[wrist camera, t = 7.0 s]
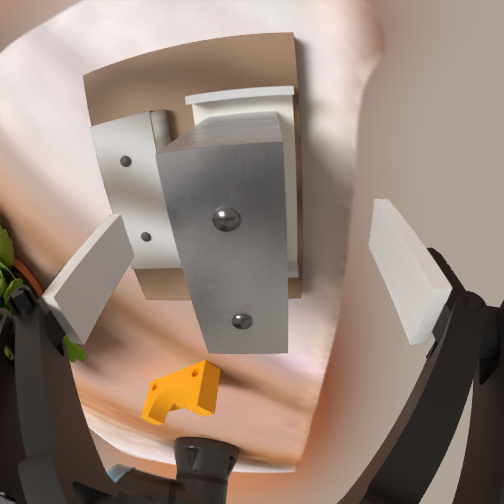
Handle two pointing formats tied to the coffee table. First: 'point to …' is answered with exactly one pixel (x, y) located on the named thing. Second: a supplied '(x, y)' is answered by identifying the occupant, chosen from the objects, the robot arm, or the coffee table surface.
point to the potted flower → (16, 275)
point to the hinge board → (174, 136)
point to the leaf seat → (283, 105)
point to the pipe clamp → (183, 392)
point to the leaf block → (231, 228)
